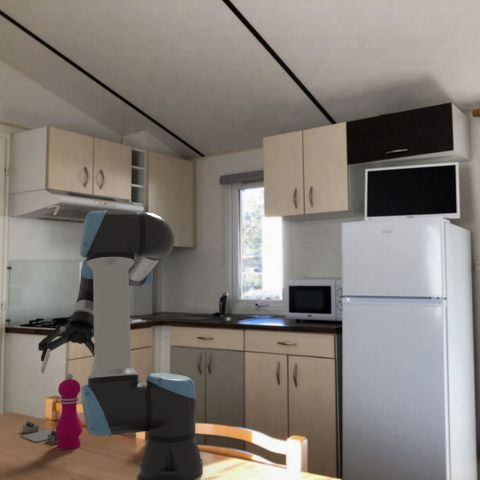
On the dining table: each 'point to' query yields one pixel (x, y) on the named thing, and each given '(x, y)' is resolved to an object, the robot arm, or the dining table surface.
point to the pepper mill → (69, 415)
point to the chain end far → (30, 427)
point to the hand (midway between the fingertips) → (67, 374)
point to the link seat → (38, 436)
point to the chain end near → (53, 437)
